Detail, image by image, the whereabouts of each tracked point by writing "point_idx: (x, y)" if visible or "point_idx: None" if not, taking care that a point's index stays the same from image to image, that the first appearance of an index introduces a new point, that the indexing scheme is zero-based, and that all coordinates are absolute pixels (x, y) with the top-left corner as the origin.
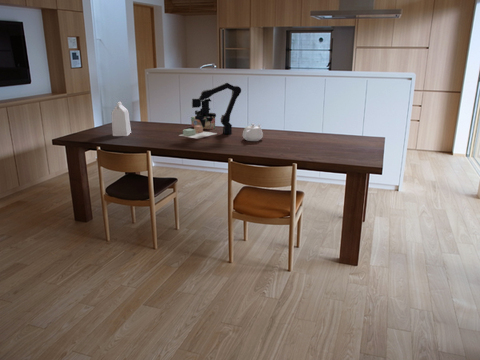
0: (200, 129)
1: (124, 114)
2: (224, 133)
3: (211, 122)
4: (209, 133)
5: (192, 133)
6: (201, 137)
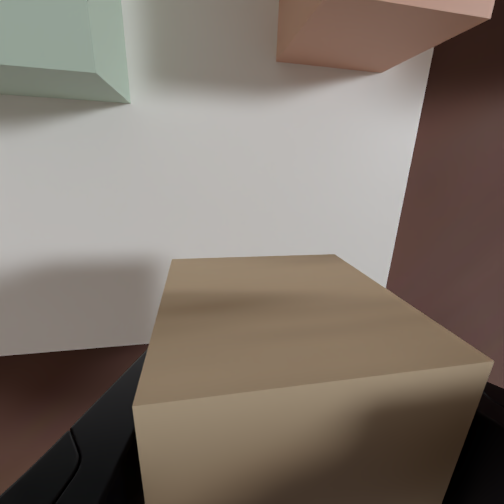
0: (349, 41)
1: None
2: None
3: None
4: (333, 242)
5: (10, 86)
6: (43, 347)
